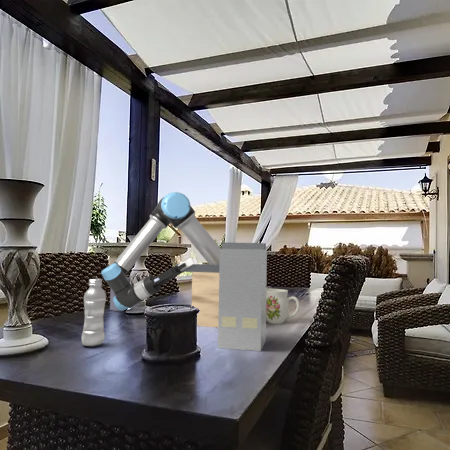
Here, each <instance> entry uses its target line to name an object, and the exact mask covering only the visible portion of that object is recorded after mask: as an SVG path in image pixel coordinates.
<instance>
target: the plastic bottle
mask: <svg viewBox="0 0 450 450" xmlns="http://www.w3.org/2000/svg"><path fill="white" fill-rule="evenodd" d="M88 286H89V288H88V289H87V290H86V291H85V293H84V295H83V306H84V307H83V308H84V323H83V330H82V332H81V343H82V345H83V346H86V347H97V346H100V345H103V343H104V341H105V336H106V335H105V329H104V314H105V307H106V301H107V294H106V291H105V290H104V289H103V287H102V286H103V280H102V279H101V278H89V279H88Z"/></svg>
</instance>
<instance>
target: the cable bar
mask: <svg viewBox="0 0 450 450" xmlns="http://www.w3.org/2000/svg"><path fill="white" fill-rule="evenodd" d="M179 264H180V263H175V265H174V267H175V266H178V265H179ZM219 267H220V265H211V264H209V263H208V264H206V263H205V264H203V263H198V264H193V265H191V266H189V267H188V268H186V269H184V270H182V271H180V272H183V273H192V272H208V273H219Z"/></svg>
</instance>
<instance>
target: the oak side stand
mask: <svg viewBox="0 0 450 450" xmlns="http://www.w3.org/2000/svg"><path fill="white" fill-rule="evenodd" d="M192 306H194V307H196V308H198V309H199V310H200V312H199V313H198V315H197V325H198V326H197V327H210V328H211V327H212V328H218V322H219V273H208V272H191V307H192Z"/></svg>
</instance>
